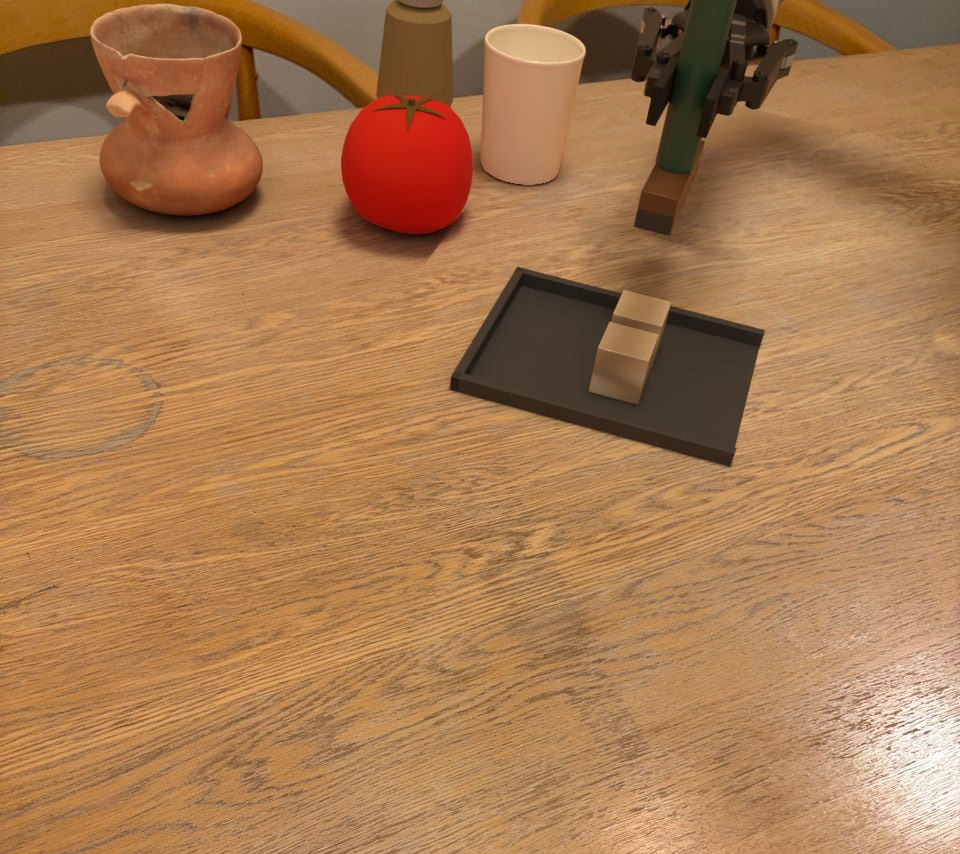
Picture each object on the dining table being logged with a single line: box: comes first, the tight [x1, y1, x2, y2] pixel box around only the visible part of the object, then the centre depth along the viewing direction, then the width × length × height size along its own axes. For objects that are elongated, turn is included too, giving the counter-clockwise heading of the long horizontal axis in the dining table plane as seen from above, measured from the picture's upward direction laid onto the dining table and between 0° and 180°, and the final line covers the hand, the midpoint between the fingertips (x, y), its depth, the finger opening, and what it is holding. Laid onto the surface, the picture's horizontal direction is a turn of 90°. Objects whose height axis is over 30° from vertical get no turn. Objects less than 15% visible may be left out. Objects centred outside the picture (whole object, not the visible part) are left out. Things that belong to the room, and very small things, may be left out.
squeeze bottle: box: [376, 0, 454, 108], centre depth 103 cm, size 8×8×18 cm
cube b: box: [589, 322, 659, 405], centre depth 79 cm, size 4×4×4 cm
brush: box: [633, 0, 737, 237], centre depth 79 cm, size 3×12×16 cm, turn 162°
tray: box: [449, 266, 766, 468], centre depth 83 cm, size 22×18×2 cm
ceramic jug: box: [89, 3, 264, 217], centre depth 91 cm, size 18×14×14 cm
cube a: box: [611, 289, 672, 369], centre depth 83 cm, size 4×4×4 cm
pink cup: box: [480, 23, 587, 186], centre depth 103 cm, size 10×10×12 cm
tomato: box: [340, 91, 474, 235], centre depth 93 cm, size 12×13×11 cm
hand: (680, 112), depth 75 cm, fingers closed on brush, 3 cm apart
